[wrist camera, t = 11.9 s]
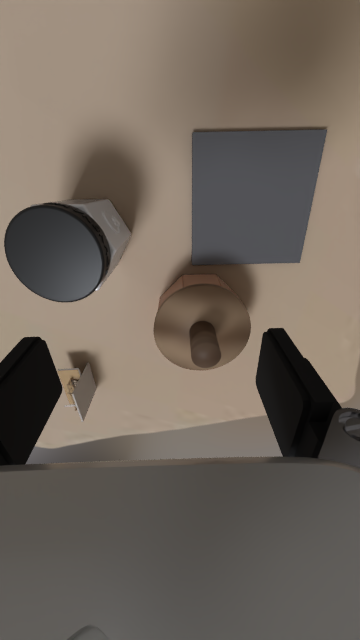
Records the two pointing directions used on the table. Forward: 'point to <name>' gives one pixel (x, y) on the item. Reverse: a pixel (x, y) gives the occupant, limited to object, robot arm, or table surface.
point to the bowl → (194, 279)
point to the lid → (202, 327)
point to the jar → (66, 247)
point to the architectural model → (78, 388)
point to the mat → (252, 194)
